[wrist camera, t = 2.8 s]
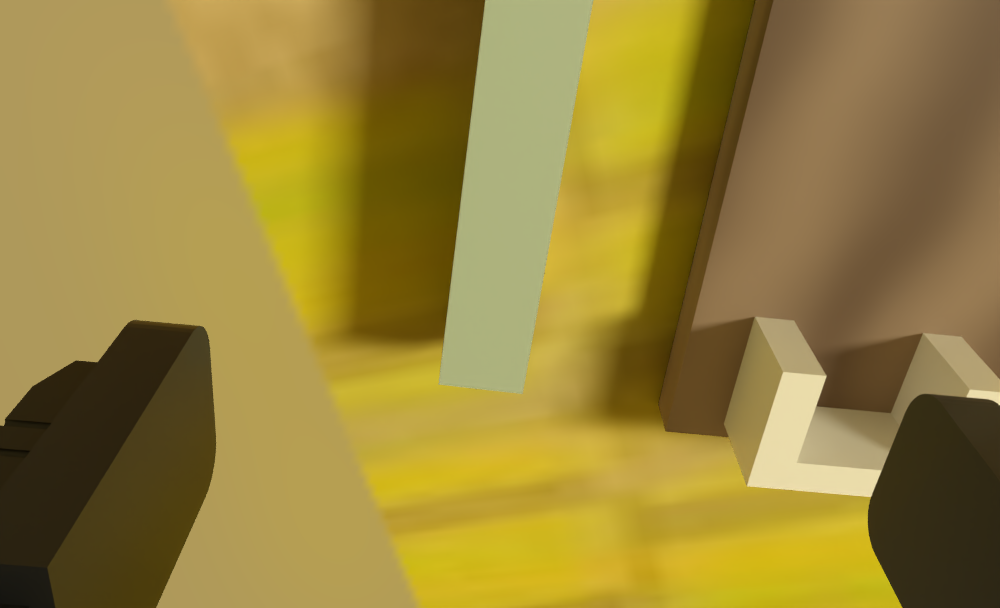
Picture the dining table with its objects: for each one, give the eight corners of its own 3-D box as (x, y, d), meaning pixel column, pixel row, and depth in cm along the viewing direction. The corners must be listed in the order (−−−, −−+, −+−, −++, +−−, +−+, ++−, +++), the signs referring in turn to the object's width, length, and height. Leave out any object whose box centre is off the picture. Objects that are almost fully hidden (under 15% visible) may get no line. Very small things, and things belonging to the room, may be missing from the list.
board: (658, 404, 29) (665, 431, 28) (843, -366, 19) (868, -380, 18) (944, 430, 30) (964, 458, 28) (1270, -307, 20) (1325, -316, 18)
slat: (446, 314, 28) (438, 384, 24) (517, -272, 20) (521, -294, 17) (520, 323, 28) (522, 393, 25) (618, -256, 20) (642, -274, 17)
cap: (723, 423, 28) (747, 486, 25) (754, 316, 26) (783, 371, 23) (916, 441, 28) (959, 504, 26) (961, 336, 26) (1012, 393, 24)
